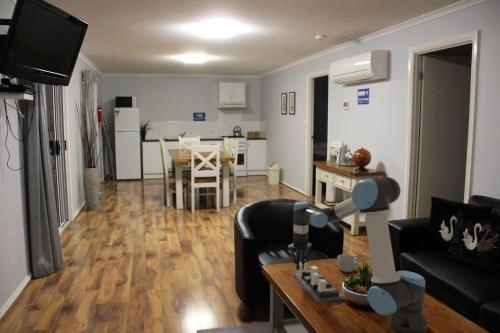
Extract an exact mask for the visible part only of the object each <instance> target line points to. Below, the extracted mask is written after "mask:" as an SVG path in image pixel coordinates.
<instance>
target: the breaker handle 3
mask: <svg viewBox="0 0 500 333" xmlns="http://www.w3.org/2000/svg"><path fill="white" fill-rule="evenodd" d="M318 279H319V274H318V273H311V283H312V284H313V285H318Z"/></svg>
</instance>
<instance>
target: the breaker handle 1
mask: <svg viewBox="0 0 500 333" xmlns="http://www.w3.org/2000/svg"><path fill="white" fill-rule="evenodd" d="M300 263H301V261H300ZM307 263H308V262H307ZM307 263H305V264H304V270H302V273H303V272H307V269H308V268H307V266H308V264H307Z"/></svg>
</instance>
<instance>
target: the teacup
mask: <svg viewBox="0 0 500 333" xmlns="http://www.w3.org/2000/svg"><path fill="white" fill-rule="evenodd" d="M357 260H358V257H357V256H355V255H351V254H346V253H345V254H339V255H337V267H338V269H339V270H340V271H341V272H344V273H351V272H354V271H355V270H356V269H358V268H359V263H358V261H357ZM357 267H358V268H357Z"/></svg>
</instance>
